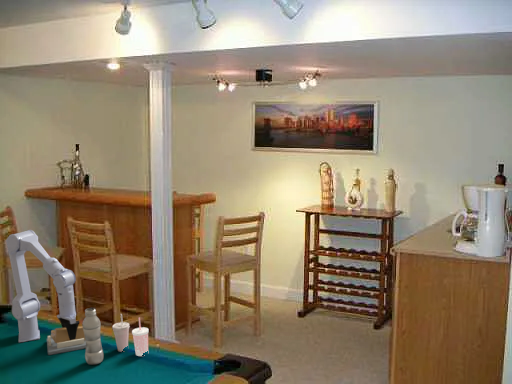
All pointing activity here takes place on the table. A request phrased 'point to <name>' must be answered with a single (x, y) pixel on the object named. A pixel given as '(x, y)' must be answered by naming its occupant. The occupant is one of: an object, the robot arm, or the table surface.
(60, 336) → the wooden c-shaped bracket
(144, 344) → the beverage cup
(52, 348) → the stand
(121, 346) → the smoothie
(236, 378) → the table surface
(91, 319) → the plastic bottle
